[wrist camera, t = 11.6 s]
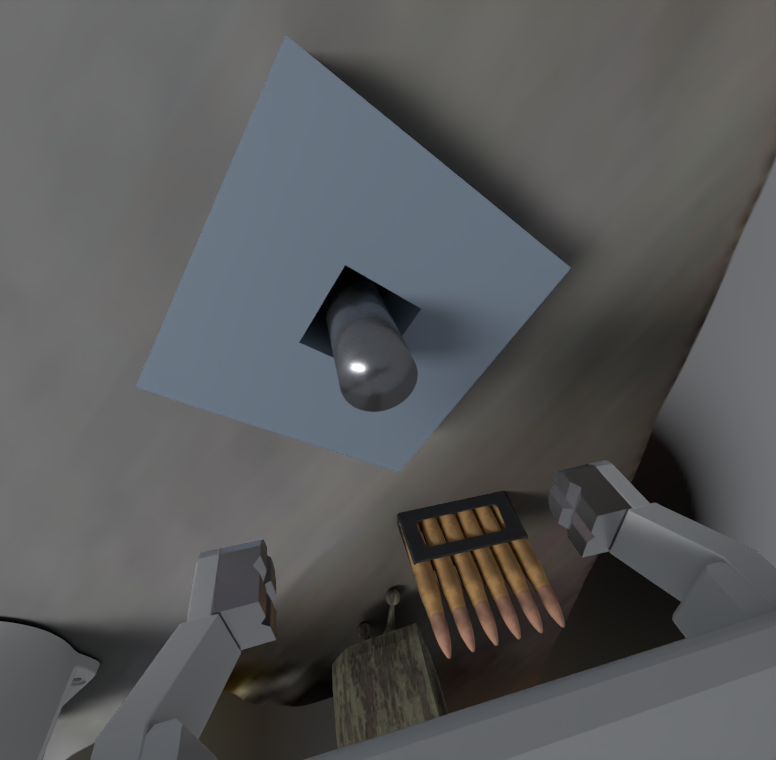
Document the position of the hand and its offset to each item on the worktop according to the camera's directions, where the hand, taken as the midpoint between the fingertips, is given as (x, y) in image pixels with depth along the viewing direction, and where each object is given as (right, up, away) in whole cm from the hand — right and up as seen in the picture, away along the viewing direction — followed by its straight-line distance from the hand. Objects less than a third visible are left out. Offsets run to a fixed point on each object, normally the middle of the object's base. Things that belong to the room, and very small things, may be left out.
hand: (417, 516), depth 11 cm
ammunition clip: (+5, -8, +28) cm, 30 cm away
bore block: (-3, +9, +13) cm, 17 cm away
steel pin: (-3, +9, +13) cm, 17 cm away
